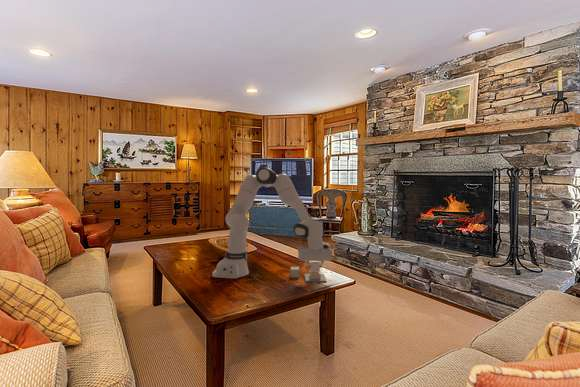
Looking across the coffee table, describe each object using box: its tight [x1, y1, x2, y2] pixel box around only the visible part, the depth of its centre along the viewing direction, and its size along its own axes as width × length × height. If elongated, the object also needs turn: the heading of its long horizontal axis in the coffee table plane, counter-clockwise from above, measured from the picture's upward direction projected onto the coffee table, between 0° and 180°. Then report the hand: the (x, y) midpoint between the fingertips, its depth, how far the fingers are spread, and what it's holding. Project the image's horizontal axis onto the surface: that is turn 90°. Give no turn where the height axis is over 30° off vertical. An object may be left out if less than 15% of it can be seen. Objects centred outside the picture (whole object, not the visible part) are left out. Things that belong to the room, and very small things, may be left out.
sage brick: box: [290, 266, 300, 278], centre depth 189 cm, size 5×5×5 cm
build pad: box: [303, 270, 327, 283], centre depth 184 cm, size 12×12×4 cm
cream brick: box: [309, 261, 321, 273], centre depth 184 cm, size 5×5×5 cm
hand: (315, 267), depth 184 cm, fingers closed on cream brick, 5 cm apart
